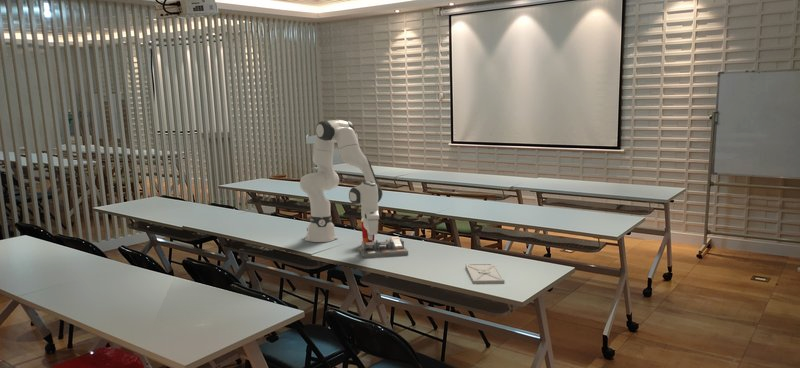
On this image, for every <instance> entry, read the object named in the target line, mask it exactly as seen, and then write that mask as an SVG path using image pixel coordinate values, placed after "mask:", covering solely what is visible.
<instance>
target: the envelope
mask: <svg viewBox="0 0 800 368" xmlns="http://www.w3.org/2000/svg"><path fill="white" fill-rule="evenodd" d="M465 269H466V270H465V271H466V272H467V274H468V276H469V278H470V280H471V282H472V283H473V284H505V279H504V277H503V275H502V274H501V272H500V271H499V269H498V268H497V266H496V264H495V263H465Z"/></svg>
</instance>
